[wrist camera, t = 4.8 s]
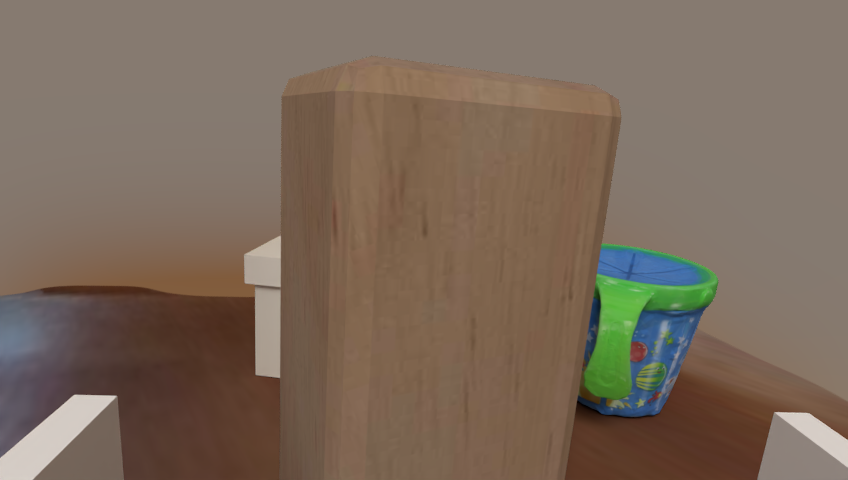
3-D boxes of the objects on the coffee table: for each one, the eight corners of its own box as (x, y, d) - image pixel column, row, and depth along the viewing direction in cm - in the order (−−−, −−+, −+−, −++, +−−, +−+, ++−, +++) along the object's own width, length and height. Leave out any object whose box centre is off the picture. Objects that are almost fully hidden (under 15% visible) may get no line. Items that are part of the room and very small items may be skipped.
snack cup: (676, 484, 27) (714, 311, 25) (500, 415, 33) (517, 267, 30) (696, 375, 40) (722, 255, 38) (568, 339, 46) (584, 231, 43)
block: (326, 679, 17) (347, 47, 12) (276, 482, 25) (277, 72, 21) (559, 580, 21) (639, 87, 16) (448, 440, 30) (480, 94, 25)
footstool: (245, 377, 35) (244, 254, 33) (311, 307, 49) (313, 217, 46) (442, 401, 34) (454, 275, 32) (453, 323, 47) (461, 231, 45)
